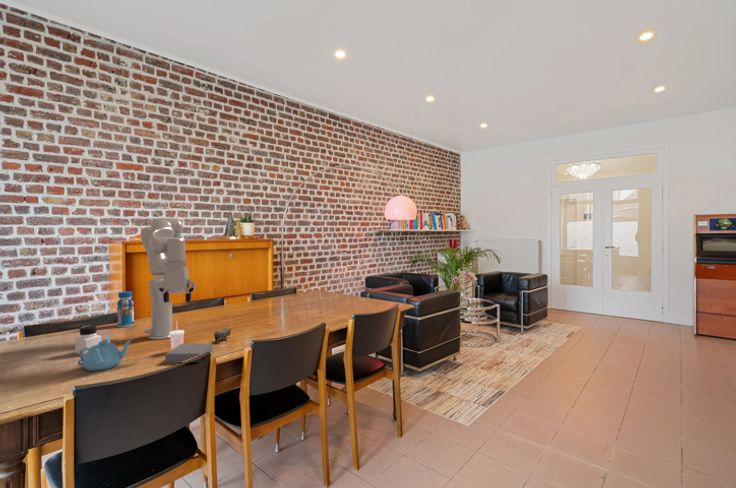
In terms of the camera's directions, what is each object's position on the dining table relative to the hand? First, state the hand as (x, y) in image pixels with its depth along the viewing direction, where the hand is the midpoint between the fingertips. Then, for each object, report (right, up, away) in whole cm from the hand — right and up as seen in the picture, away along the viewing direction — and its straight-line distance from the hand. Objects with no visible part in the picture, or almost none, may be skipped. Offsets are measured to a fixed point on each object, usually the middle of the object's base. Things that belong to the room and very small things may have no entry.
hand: (177, 302), depth 167 cm
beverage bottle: (-56, -22, +48) cm, 77 cm away
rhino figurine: (+14, -23, +18) cm, 32 cm away
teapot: (-20, -24, -18) cm, 36 cm away
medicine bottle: (-40, -23, 0) cm, 47 cm away
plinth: (+10, -23, -8) cm, 26 cm away
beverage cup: (0, -23, +1) cm, 23 cm away
